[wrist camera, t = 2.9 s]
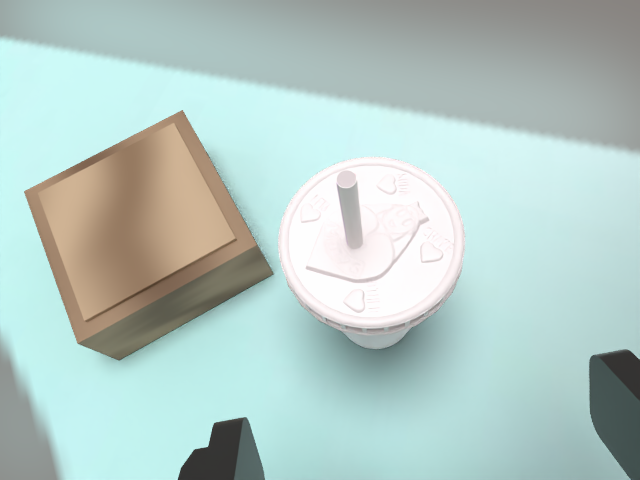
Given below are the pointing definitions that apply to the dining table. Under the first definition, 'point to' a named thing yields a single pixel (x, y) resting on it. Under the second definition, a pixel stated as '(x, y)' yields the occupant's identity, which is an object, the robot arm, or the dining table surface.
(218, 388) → the dining table surface
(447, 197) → the smoothie
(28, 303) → the dining table surface
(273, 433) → the dining table surface
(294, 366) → the dining table surface
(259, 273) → the base
